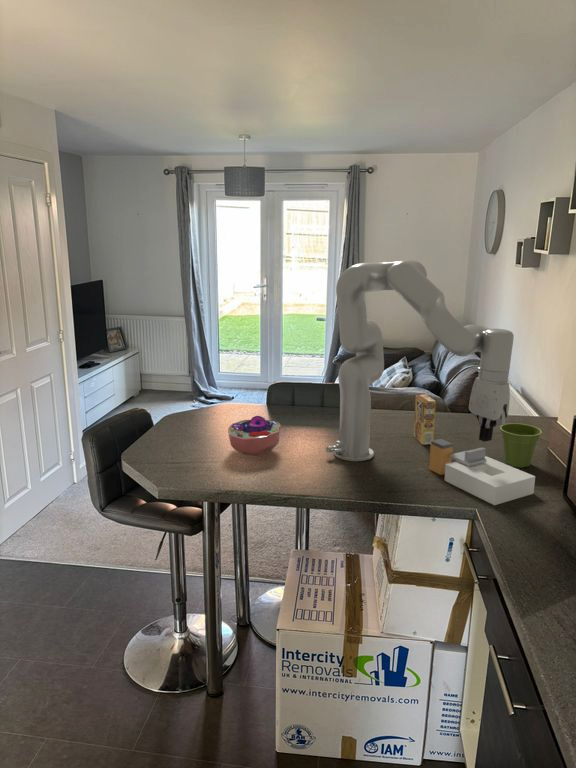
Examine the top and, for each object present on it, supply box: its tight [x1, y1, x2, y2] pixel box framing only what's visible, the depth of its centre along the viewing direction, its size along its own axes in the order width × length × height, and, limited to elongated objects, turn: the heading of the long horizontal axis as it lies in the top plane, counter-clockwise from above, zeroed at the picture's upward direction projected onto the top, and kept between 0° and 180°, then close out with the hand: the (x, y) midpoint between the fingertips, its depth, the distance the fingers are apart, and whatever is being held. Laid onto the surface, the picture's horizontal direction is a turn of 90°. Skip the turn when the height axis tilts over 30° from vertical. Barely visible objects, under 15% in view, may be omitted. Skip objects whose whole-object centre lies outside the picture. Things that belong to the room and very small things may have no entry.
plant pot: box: [499, 422, 543, 469], centre depth 172 cm, size 12×12×11 cm
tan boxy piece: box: [428, 438, 454, 476], centre depth 167 cm, size 4×5×9 cm
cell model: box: [227, 415, 281, 457], centre depth 181 cm, size 17×20×11 cm
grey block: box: [449, 447, 487, 466], centre depth 162 cm, size 7×8×4 cm
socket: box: [444, 455, 536, 506], centre depth 156 cm, size 15×18×5 cm
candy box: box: [413, 394, 437, 446], centre depth 192 cm, size 9×4×15 cm, turn 8°
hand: (485, 439), depth 155 cm, fingers closed
